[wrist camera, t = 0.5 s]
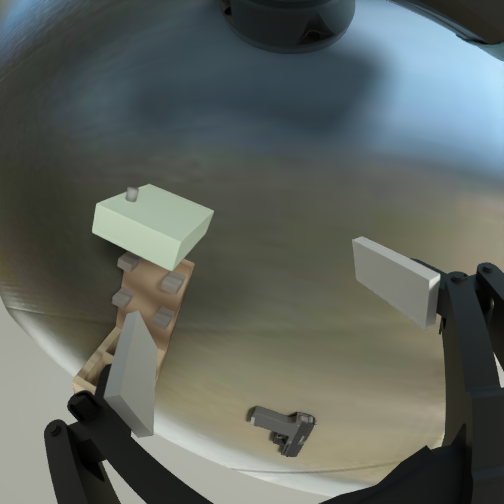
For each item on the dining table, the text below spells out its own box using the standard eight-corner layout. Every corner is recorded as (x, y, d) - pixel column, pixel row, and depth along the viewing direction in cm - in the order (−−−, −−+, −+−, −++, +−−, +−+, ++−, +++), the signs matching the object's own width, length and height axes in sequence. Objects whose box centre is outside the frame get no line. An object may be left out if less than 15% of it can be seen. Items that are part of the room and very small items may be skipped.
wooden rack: (135, 236, 35) (65, 287, 22) (194, 263, 36) (145, 332, 22) (116, 354, 45) (77, 410, 31) (159, 376, 45) (127, 438, 32)
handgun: (245, 450, 51) (297, 459, 49) (252, 413, 43) (318, 423, 42) (247, 441, 53) (299, 449, 51) (255, 401, 46) (319, 411, 44)
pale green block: (151, 175, 32) (99, 191, 22) (217, 201, 32) (185, 229, 22) (143, 205, 34) (91, 232, 24) (205, 232, 34) (172, 271, 24)
